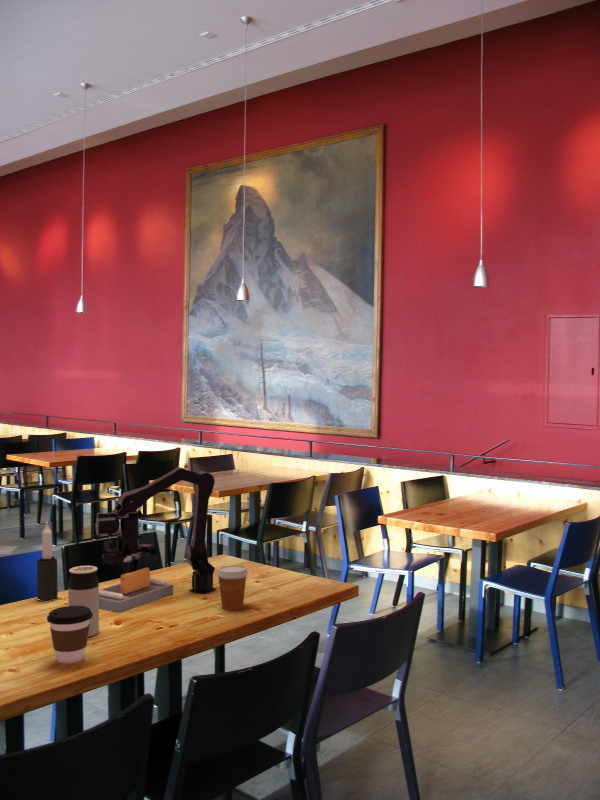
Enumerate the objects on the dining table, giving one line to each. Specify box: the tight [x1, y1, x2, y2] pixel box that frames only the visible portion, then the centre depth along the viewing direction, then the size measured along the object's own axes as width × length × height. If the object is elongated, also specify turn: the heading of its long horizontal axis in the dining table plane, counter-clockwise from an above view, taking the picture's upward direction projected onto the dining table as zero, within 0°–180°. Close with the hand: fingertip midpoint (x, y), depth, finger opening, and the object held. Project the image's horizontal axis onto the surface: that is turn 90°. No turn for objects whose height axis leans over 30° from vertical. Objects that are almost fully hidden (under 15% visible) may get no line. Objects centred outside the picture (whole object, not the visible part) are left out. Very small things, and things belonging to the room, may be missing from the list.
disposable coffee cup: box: [216, 565, 249, 611], centre depth 227 cm, size 10×10×12 cm
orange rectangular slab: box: [119, 567, 151, 594], centre depth 235 cm, size 2×11×6 cm, turn 148°
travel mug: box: [67, 565, 100, 638], centre depth 203 cm, size 8×8×18 cm
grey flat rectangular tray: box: [99, 577, 174, 613], centre depth 237 cm, size 16×24×5 cm, turn 148°
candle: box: [36, 521, 59, 602], centre depth 237 cm, size 5×5×25 cm
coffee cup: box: [46, 605, 93, 665], centre depth 184 cm, size 11×11×12 cm
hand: (130, 580), depth 237 cm, fingers closed, pressing on orange rectangular slab
